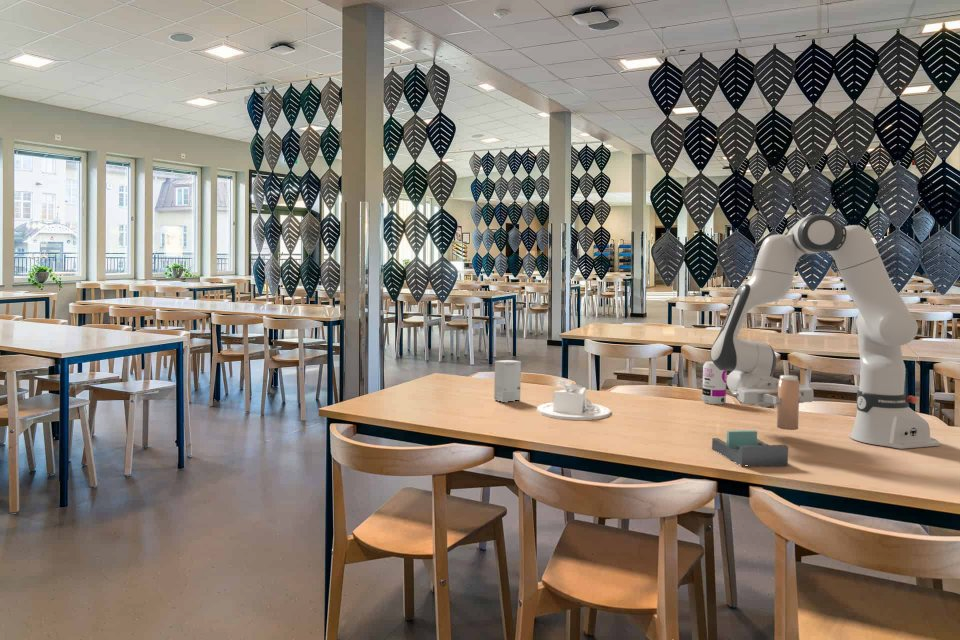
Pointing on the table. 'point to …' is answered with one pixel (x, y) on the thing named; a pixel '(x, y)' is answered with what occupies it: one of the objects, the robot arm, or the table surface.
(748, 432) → the block
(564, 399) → the dish
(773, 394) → the robot arm
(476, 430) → the table surface
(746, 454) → the grey open tray
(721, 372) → the supplement can
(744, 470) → the table surface
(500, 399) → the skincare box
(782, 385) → the slim pink can
